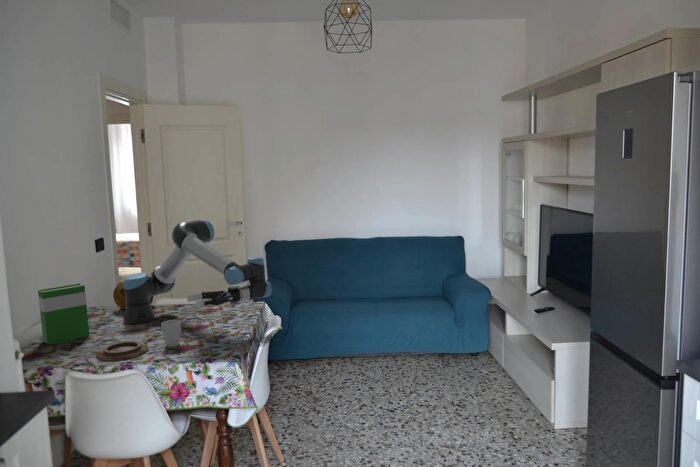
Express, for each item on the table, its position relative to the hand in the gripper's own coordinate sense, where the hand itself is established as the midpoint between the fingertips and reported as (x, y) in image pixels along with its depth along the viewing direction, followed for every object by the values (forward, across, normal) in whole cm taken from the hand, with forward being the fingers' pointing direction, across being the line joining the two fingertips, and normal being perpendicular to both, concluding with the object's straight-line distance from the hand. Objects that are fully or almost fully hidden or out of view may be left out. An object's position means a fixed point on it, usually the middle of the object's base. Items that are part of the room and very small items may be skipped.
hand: (191, 301), depth 239 cm
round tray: (+29, +3, -17) cm, 34 cm away
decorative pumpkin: (+11, +81, -17) cm, 83 cm away
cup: (+10, 0, -18) cm, 20 cm away
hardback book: (+48, +41, -17) cm, 65 cm away
